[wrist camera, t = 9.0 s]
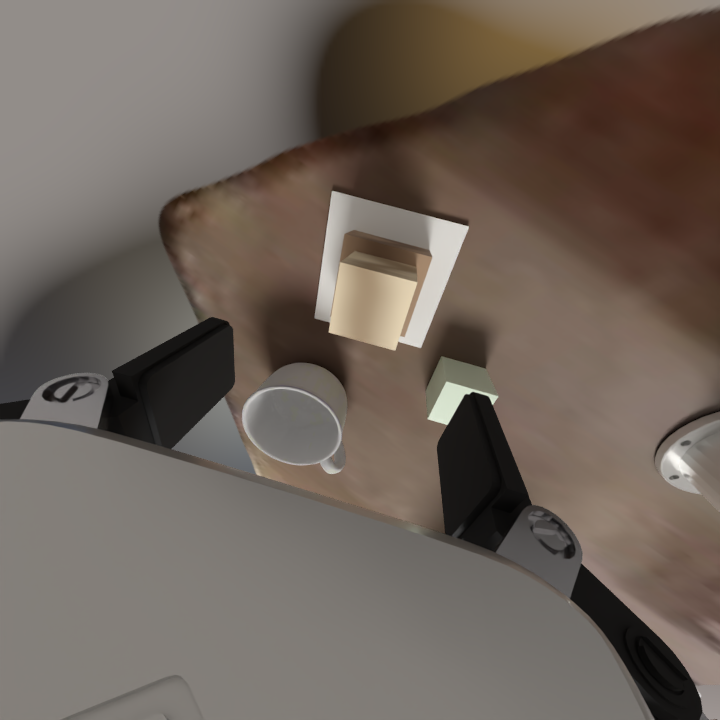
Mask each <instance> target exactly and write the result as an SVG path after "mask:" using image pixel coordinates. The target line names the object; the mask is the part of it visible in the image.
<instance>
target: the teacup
mask: <svg viewBox="0 0 720 720" xmlns="http://www.w3.org/2000/svg"><path fill="white" fill-rule="evenodd" d="M346 414H347V397H346V393H345V390H344V388H343V386H342V384H341V383H340V381H339V380H338V379H337V378H336V377H335V376H334V375H333V374H332V373H331V372H329V371H328V370H326V369H324V368H322V367H320V366H318V365H314V364H310V363H293V364H289V365H286V366H283V367H281V368H280V369H278V370H277V371H275V372H274V373H273V374H272V375H271V376H269V377H268V378H267V380H266V381H265V382H264V383H263V384H262V385H261V386H260V387H259V388H258V390H257V391H256V392H255V393H253V394H252V395H251V396H250V397H249V398H248V399H247V401H246V402H245V404H244V407H243V411H242V422H243V427H244V429H245V432H246V433H247V435H248V437H249V439H250V440H251V441H252V442H253V443H254V445H255V446H257V447H258V448H259V449H260V450H261V451H263V452H264V453H265V454H267V455H268V456H270V457H272V458H274V459H276V460H279V461H281V462H284V463H288V464H294V465H310V464H316V463H320V464H321V466H322V468H323V469H324V470H325V471H326V472H327V473H330V474H335V473H338V472H340V471H341V470H342V469H343V467H344V465H345V461H346V455H345V449H344V446H343V443H342V431H343V428H344V424H345V419H346ZM333 454H334V458H335V461H334V462H333V460H332V458H331V456H332V455H333Z"/></svg>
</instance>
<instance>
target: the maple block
mask: <svg viewBox="0 0 720 720" xmlns="http://www.w3.org/2000/svg"><path fill="white" fill-rule="evenodd" d="M417 283H418V282H417V267H415V266H411V265H407V264H403V263H400V262H396V261H392V260H388V259H384V258H380V257H377V256H373V255H369V254H365V253H361V252H357V251H354V252H353V253H352V254H350V255H349V256H348V257H346V258H345V259H344V260H342V261H341V262H340V266H339V272H338V278H337V284H336V290H335V297H334V303H333V309H332V315H331V321H330V327H329V333H332V334H336V335H340V336H343V337H347V338H351V339H354V340H358V341H362V342H365V343H369V344H373V345H376V346H380V347H384V348H387V349H391V350H396V347H397V344H398V341H399V337H400V334H401V331H402V328H403V325H404V322H405V319H406V316H407V313H408V310H409V307H410V304H411V301H412V298H413V295H414V292H415V289H416V286H417Z"/></svg>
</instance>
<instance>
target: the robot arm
mask: <svg viewBox="0 0 720 720" xmlns="http://www.w3.org/2000/svg"><path fill="white" fill-rule="evenodd" d="M112 373H113V375H114V378H112V379H111V380H109V381H108V380H107V379H106V378H105V377H104V376H102V375H99V374H94V373H78V374H72V375H66V376H63V377H59V378H56V379H54V380H51V381H49V382H47V383H45V384H44V385H42V386H41V387H39V388H38V389H37V390H36V391H35V393H34V394H33V396H32V398H31V399H29V400H23V401H16V402H10V403H4V404H0V720H709V719H708V718H707V717H706V716H705V714H704V713H703V712H702V705H701V699H700V696H699V694H698V692H697V689H696V687H695V684H694V682H693V681H692V679H691V677H690V675H689V674H688V672H687V670H686V669H685V667H684V666H683V664H682V663H681V662H680V660H679V659H678V658H677V657H676V655H675V654H674V653H673V651H672V650H671V649H670V648H669V647H668V646H667V645H666V644H665V643H664V642H663V641H662V640H661V639H660V638H659V637H658V636H657V635H656V634H655V633H654V632H653V631H652V630H651V629H650V628H649V627H648V626H647V625H646V624H645V623H644V622H643V621H641V620H640V619H639V618H638V617H637V616H636V615H635V614H634V613H633V612H632V611H631V610H630V609H629V608H628V607H627V606H626V605H625V604H624V603H622V602H621V601H620V600H619V599H618V598H617V597H616V596H615V595H614V594H613V593H612V592H611V591H610V590H609V589H608V588H607V587H606V586H605V585H604V584H602V583H601V582H600V581H599V580H598V579H597V578H596V577H595V576H594V575H593V574H592V573H591V572H590V571H589V570H588V569H587V568H586V567H585V566H583V565H582V564H581V562H582V554H583V553H582V549H581V546H580V543H579V541H578V540H577V538H576V536H575V534H574V533H573V532H572V530H571V529H570V528H569V527H568V525H567V524H566V523H564V522H563V521H562V520H561V519H560V518H559V517H558V516H557V515H555V514H554V513H552V512H551V511H549V510H547V509H545V508H543V507H540V506H536V505H532V504H531V501H530V499H529V496H528V492H527V490H526V487H525V485H524V482H523V480H522V477H521V475H520V472H519V470H518V467H517V465H516V462H515V460H514V457H513V455H512V452H511V450H510V447H509V445H508V442H507V440H506V438H505V435H504V433H503V430H502V428H501V425H500V423H499V420H498V418H497V415H496V413H495V410H494V408H493V405H492V403H491V400H490V398H489V396H486V395H483V394H479V393H476V392H471V393H470V394H465V395H464V397H463V399H462V400H461V402H460V404H459V406H458V407H457V409H456V411H455V413H454V415H453V416H452V418H451V420H450V422H449V423H448V425H447V427H446V429H445V431H444V432H443V434H442V436H441V438H440V439H439V441H438V445H437V454H438V464H439V474H440V484H441V494H442V504H443V514H444V525H445V533H446V534H443V533H440V532H437V531H434V530H431V529H428V528H425V527H422V526H419V525H416V524H413V523H410V522H407V521H403V520H400V519H397V518H394V517H391V516H387V515H384V514H381V513H378V512H375V511H371V510H368V509H365V508H362V507H359V506H355V505H352V504H349V503H346V502H343V501H339V500H336V499H333V498H330V497H326V496H323V495H320V494H317V493H313V492H310V491H307V490H304V489H300V488H297V487H294V486H291V485H287V484H284V483H281V482H278V481H274V480H271V479H268V478H265V477H261V476H258V475H255V474H251V473H248V472H245V471H242V470H238V469H235V468H232V467H228V466H225V465H222V464H218V463H215V462H212V461H208V460H205V459H202V458H198V457H195V456H192V455H189V454H185V453H181V452H179V451H175V450H172V449H171V448H172V447H174V446H175V445H176V444H177V443H178V442H179V441H180V440H181V439H182V438H183V436H185V434H186V433H188V432H189V431H190V430H191V428H193V427H194V426H195V425H196V424H197V423H198V421H200V420H201V419H202V418H203V417H204V416H205V415H206V413H208V412H209V411H210V410H211V409H212V408H213V407H214V406H215V405H216V404H217V403H218V402H219V401H220V400H221V398H223V397H224V396H225V395H226V394H227V393H228V392H229V391H230V390H231V389H232V387H233V385H234V383H235V370H234V344H233V328H232V327H231V326H230V325H229V323H228V322H227V321H225V320H221V319H218V318H214V317H211V318H209V319H207V320H205V321H203V322H201V323H199V324H198V325H196V326H194V327H192V328H190V329H188V330H186V331H185V332H183V333H181V334H179V335H178V336H176V337H173V338H172V339H170V340H168V341H166V342H164V343H162V344H161V345H159V346H157V347H155V348H153V349H151V350H150V351H148V352H146V353H144V354H142V355H140V356H138V357H137V358H135V359H133V360H131V361H129V362H127V363H126V364H124V365H122V366H120V367H118V368H116V369H115V370H113V371H112ZM655 466H656V468H657V470H658V472H659V473H660V474H661V475H662V477H663V478H664V479H665V480H666V481H667V482H669V483H670V484H671V485H672V486H674V487H676V488H679V489H681V490H684V491H687V492H691V493H697V494H702V495H703V496H704V497H705V498H706V499H707V500H708V501H709V502H710V503H711V504H712V505H713V506H714V507H715V508H716V509H717V510H718V511H719V512H720V412H716V413H713V414H710V415H707V416H704V417H702V418H699V419H697V420H695V421H693V422H690V423H689V424H687V425H685V426H683V427H682V428H680V429H678V430H677V431H676V432H674V433H673V434H672V435H670V436H669V437H668V438H667V439H666V440H665V441H664V442H663V443H662V445H661V446H660V448H659V449H658V451H657V454H656V457H655ZM714 720H717V719H714Z"/></svg>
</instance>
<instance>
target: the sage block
mask: <svg viewBox="0 0 720 720" xmlns="http://www.w3.org/2000/svg"><path fill="white" fill-rule="evenodd" d="M471 392H476V393H479V394H483V395H486V396H489V398H490V400H491V403H492V405H493V404H494V402H495V401H496V399H497V398H498V394H497V392H496V390H495V388H494V385H493V383H492V381H491V379H490V377H489V375H488V372H487V370H486V369H485V368H482V367H478V366H475V365H471V364H468V363H464V362H460V361H457V360H453V359H450V358H446V357H443V356H441V358H440V360H439V362H438V365H437V367H436V369H435V371H434V373H433V376H432V378H431V380H430V382H429V384H428V387H427V389H426V404H427V417H428V419H429V420H432V421H436V422H439V423H443V424H446V425H448V423H449V422H450V420H451V418H452V416H453V415H454V413H455V411H456V409H457V407H458V406H459V404H460V402H461V400H462V399H463V397H464V395H465V394H470V393H471Z"/></svg>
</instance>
